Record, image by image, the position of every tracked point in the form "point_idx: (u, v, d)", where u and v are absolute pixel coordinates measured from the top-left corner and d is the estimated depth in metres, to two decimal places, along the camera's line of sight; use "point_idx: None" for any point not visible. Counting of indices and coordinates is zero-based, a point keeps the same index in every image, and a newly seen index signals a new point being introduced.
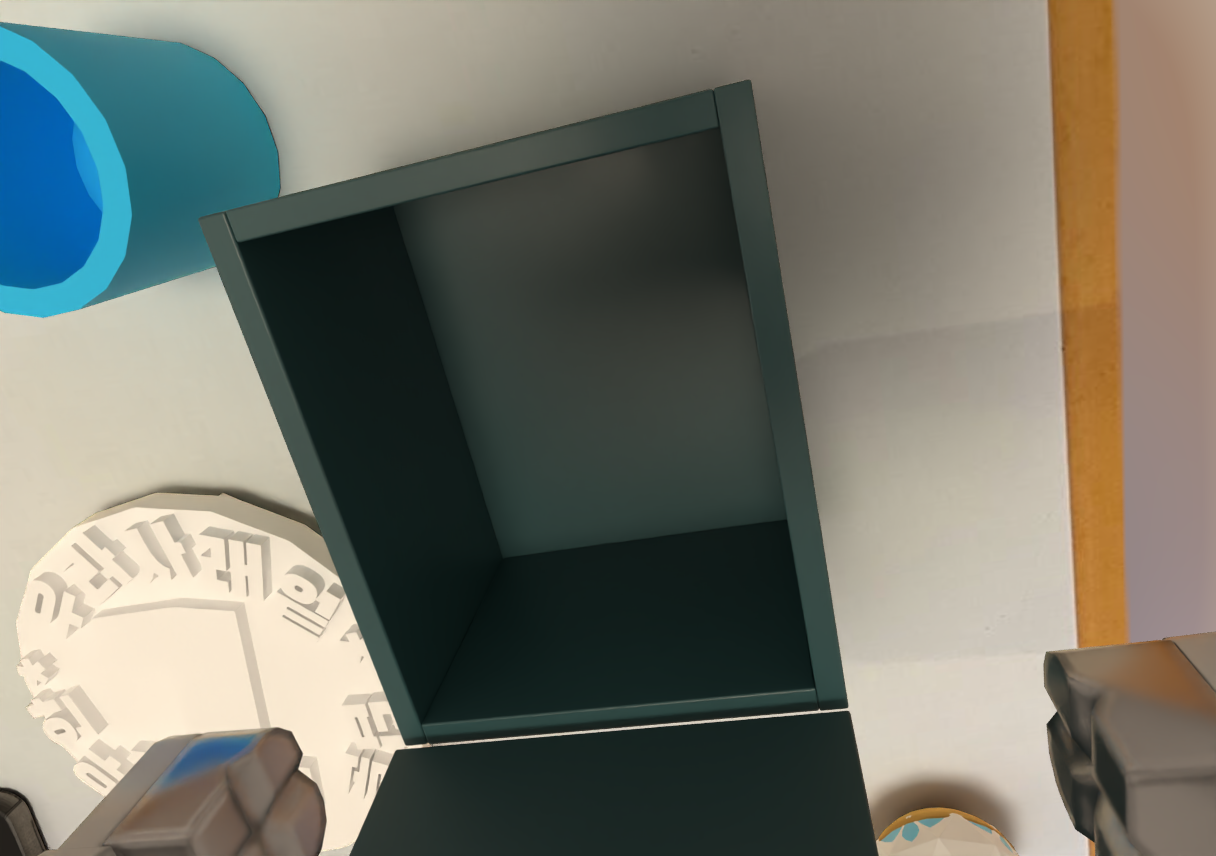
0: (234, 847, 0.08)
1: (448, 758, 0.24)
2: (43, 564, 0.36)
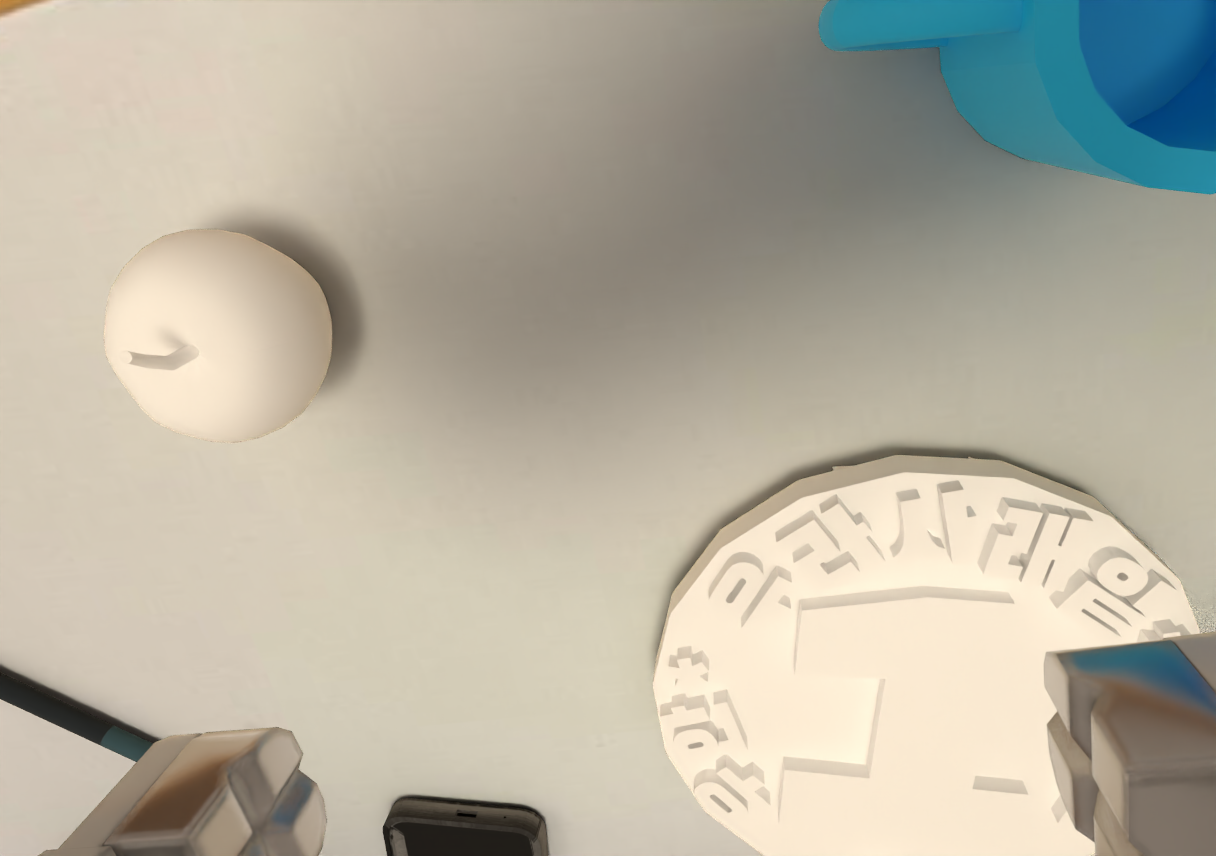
0: (234, 847, 0.08)
1: None
2: (740, 542, 0.29)
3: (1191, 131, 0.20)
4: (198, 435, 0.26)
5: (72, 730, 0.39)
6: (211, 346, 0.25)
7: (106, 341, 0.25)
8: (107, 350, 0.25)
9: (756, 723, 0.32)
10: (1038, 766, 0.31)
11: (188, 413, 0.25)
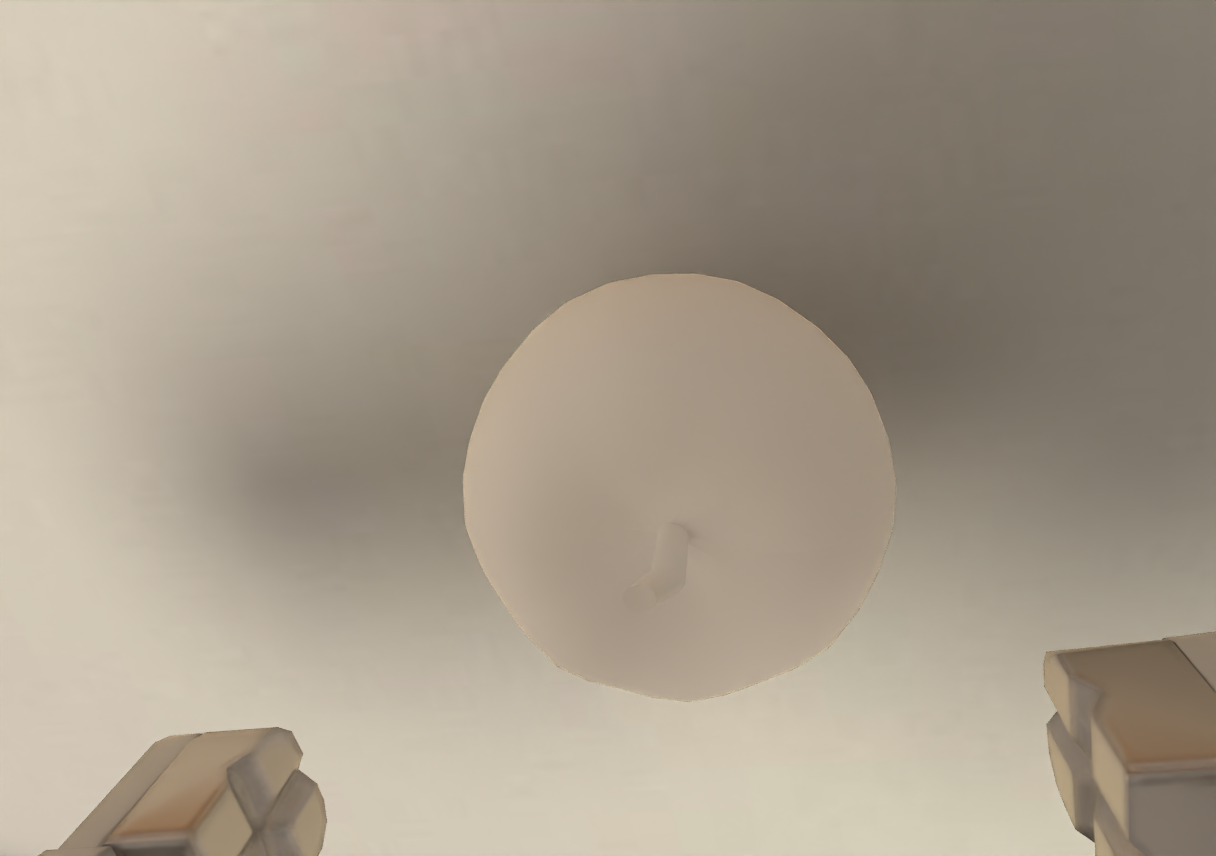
0: (234, 847, 0.08)
1: None
2: None
3: None
4: (650, 695, 0.13)
5: None
6: (736, 532, 0.11)
7: (490, 517, 0.12)
8: (490, 535, 0.12)
9: None
10: None
11: (655, 663, 0.12)
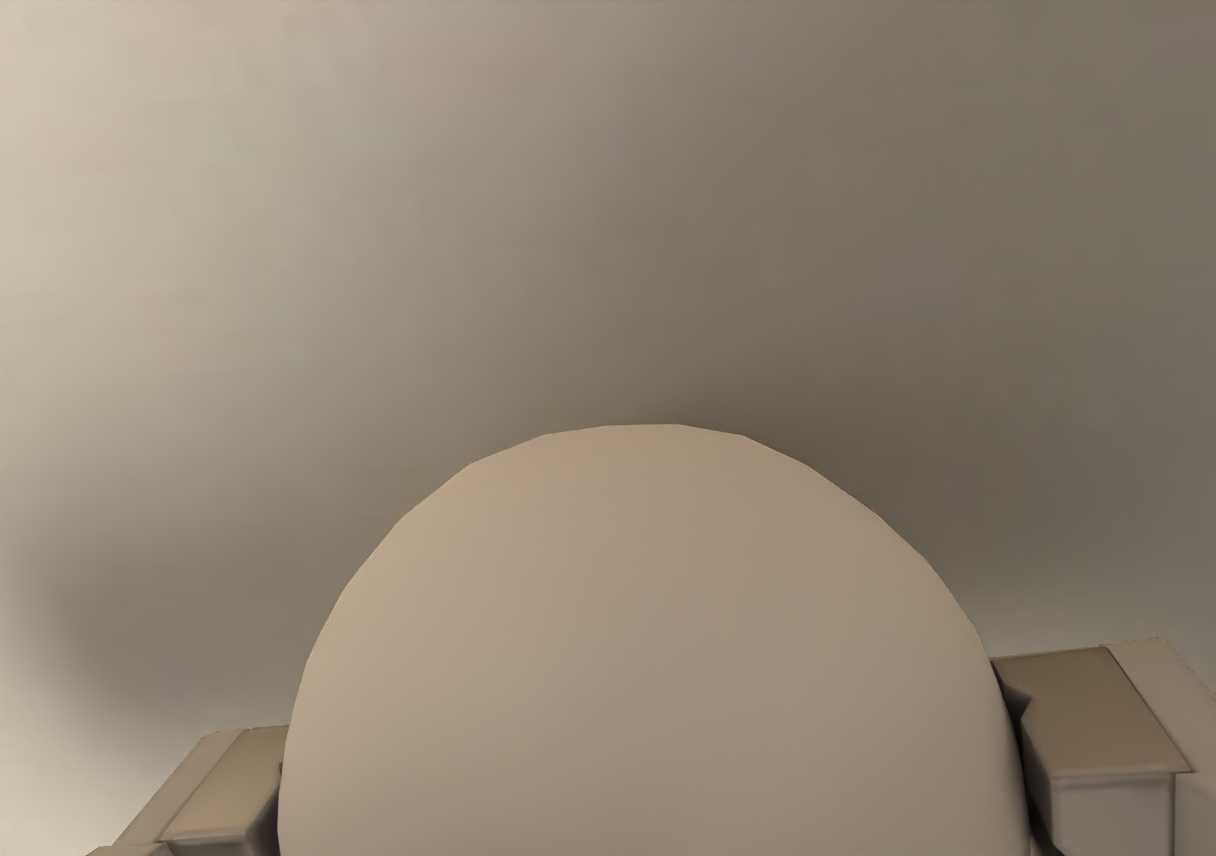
0: None
1: None
2: None
3: None
4: None
5: None
6: None
7: None
8: None
9: None
10: None
11: None
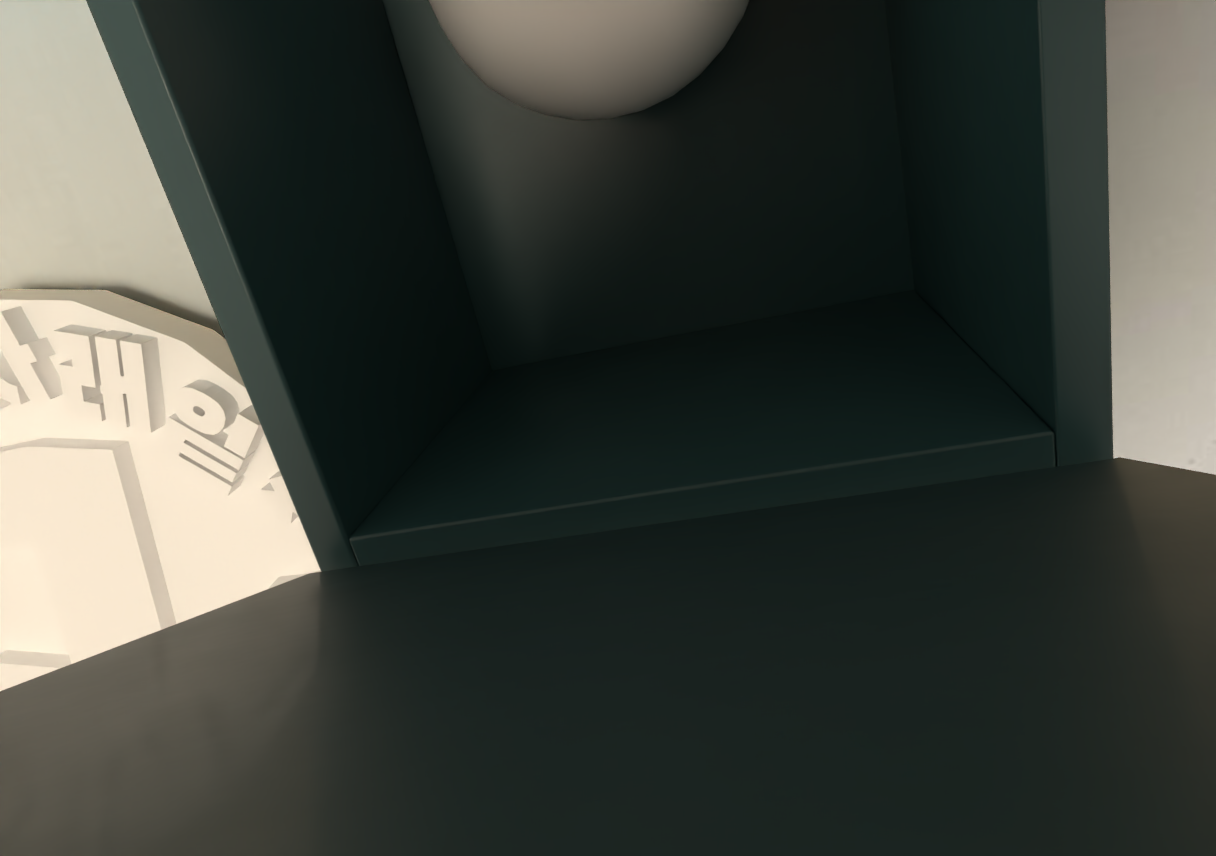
0: None
1: (390, 565, 0.14)
2: None
3: None
4: (563, 78, 0.15)
5: None
6: None
7: None
8: None
9: None
10: None
11: (563, 20, 0.15)
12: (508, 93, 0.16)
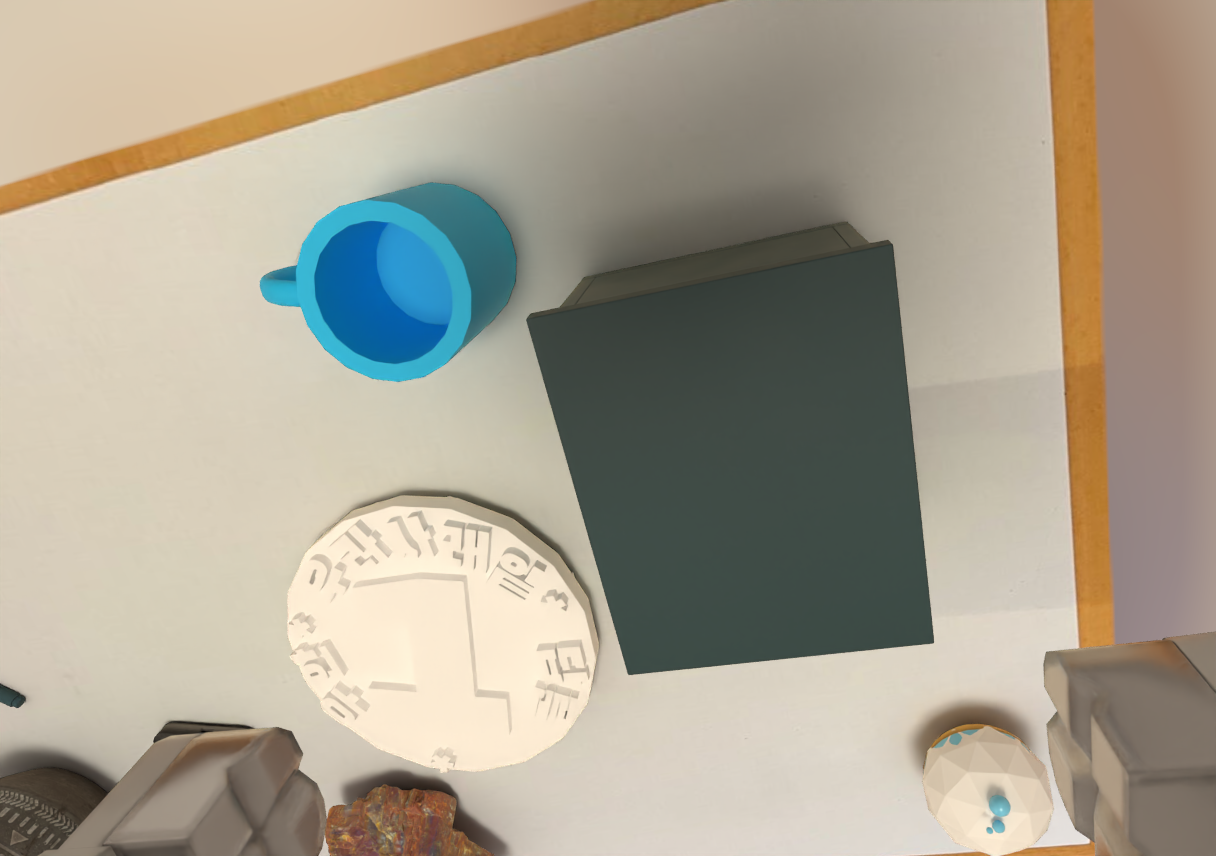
0: (234, 847, 0.08)
1: None
2: (316, 548, 0.49)
3: (440, 339, 0.40)
4: None
5: None
6: None
7: None
8: None
9: (352, 660, 0.52)
10: (515, 682, 0.50)
11: None
12: None
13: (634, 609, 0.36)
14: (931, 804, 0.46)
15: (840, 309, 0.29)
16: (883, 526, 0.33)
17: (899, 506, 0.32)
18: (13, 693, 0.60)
